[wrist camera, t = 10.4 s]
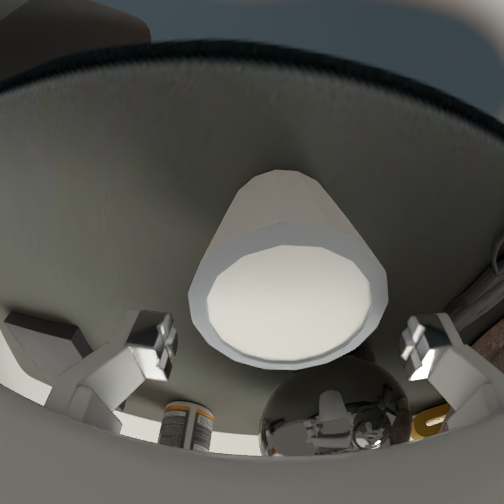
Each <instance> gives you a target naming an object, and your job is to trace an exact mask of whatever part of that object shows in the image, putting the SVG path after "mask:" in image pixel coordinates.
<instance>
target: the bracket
mask: <svg viewBox="0 0 504 504" xmlns="http://www.w3.org/2000/svg"><path fill="white" fill-rule="evenodd" d="M450 407H451V405H450V404H449V403H447V404H444V405H440V406H437V407H434V408H431V409H428V410H424V411H422V412H420V413H419V414H418V415H417V416H416V417H415V418H414V419H413V420H412V432H411V437H412V438H413V439H414V440H417V439H421V438H425V437H428V436H432V435H435V434H438V433H439V430H440V428H441V426H442V423H443V422H441V423H438V424H435V425H432V426H427V425H426V424H427V423H430V422H433V421H436V420H439V419H442V418H445V417H446V414H447V412H448V410H449V409H450Z"/></svg>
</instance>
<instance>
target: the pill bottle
mask: <svg viewBox="0 0 504 504" xmlns="http://www.w3.org/2000/svg"><path fill="white" fill-rule="evenodd" d="M212 424H213V414H212V413H211V412H210V411H209V410H208V409H207V408H205V407H203V406H201V405H198V404H195V403H190V402H184V401H175V402H171V403H169V404H167V406H166V407H165V411H164V415H163V420H162V425H161V429H160V434H159V438H158V442H157V444H162V445H167V446H172V447H178V448H184V449H190V450H197V451H204V452H209V447H210V440H211V433H212Z"/></svg>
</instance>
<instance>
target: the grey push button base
mask: <svg viewBox="0 0 504 504" xmlns="http://www.w3.org/2000/svg"><path fill="white" fill-rule="evenodd" d="M4 323H5V324H6V326H7V327H8V329H9V330H10V332H11V333H12V335H13V336H14V337H15V339H16V340H17V342H18V343H19V345H20V346H21V347H22V349H23V350H24V351H25V353H26V354H27V355H28V357H29V358H30V359H31V360H32V362H33V363H34V364H35V366H36V367H37V368H38V369H39V370H40V372H41V373H42V374H43V375H44V376H45V378H46V379H47V380H48V381H49V382H50V383H51V384H52V386H54V384H55V382H56V380H57V378H58V376H59V375H61V374H62V373H63V372H65V371H66V370H68V369H69V368H71V367H72V366H74V365H75V364H76V363H78V362H79V361H81V360H82V359H84V358H85V357H86V356H88V355H89V354H91V353H92V352H93V351H92V350H91V348H90V347H89V345H88V343H87V342H86V340H85V338H84V336H83V335H82V333H81V331H80V329H79V328H78V327H76V326H71V325H66V324H61V323H56V322H52V321H47V320H43V319H38V318H34V317H30V316H26V315H22V314H18V313H15V312H10V314H9V315H8V316H7V318H6V319H5V321H4ZM125 403H126V400H124V401H123V402H122V403H121V404H120V405H119V406H118V407H117V408H116V409H115V410H119V411H123V409H124V406H125Z"/></svg>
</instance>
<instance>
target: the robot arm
mask: <svg viewBox="0 0 504 504" xmlns="http://www.w3.org/2000/svg"><path fill="white" fill-rule="evenodd" d="M173 321H174V320H173V317H172V314H170V313H165V312H157V311H149V310H139V309H131V308H130V309H128V310H127V311H126V313H125V315H124V317H123V319H122V321H121V323H120V325H119V327H118V329H117V331H116V333H115V335H114V337H113V339H112V341H111V343H105V344H104V345H102V346H101V347H99V348H98V349H97V350H95V351H94V352H92V353H91V354H89V355H88V356H86V357H85V358H84V359H82V360H81V361H79V362H78V363H76V364H75V365H74V366H72V367H71V368H69V369H68V370H66V371H65V372H63V373H62V374H61V375H59V376H58V378H57V380H56V382H55V384H54V386H53V388H52V390H51V392H50V394H49V396H48V398H47V401H46V403H45V405H44V406H42V405H40V404H38V403H36V402H34V401H32V400H30V399H28V398H25V397H24V396H22V395H20V394H18V393H16V392H14V391H12V390H10V389H9V388H7V387H5V386H3V385H2V384H0V504H504V374H503V373H502V372H501V371H500V370H499V369H497V368H496V367H495V366H494V365H492V364H491V363H490V362H489V361H487V360H486V359H485V358H484V357H482V356H481V355H480V354H479V353H477V352H476V351H475V350H473V349H472V348H471V347H470V346H468V345H467V344H465V345H464V344H463V342H462V340H461V338H460V336H459V334H458V332H457V330H456V328H455V327H454V325H453V323H452V321H451V319H450V317H449V315H448V314H446V313H436V314H424V315H412V316H411V317H410V318H409V319H408V321H407V323H406V324H407V326H408V328H406V329H405V330H404V331H403V332H402V333H401V336H400V338H399V345H398V346H399V352H400V356H401V357H402V358H403V359H404V360H405V361H406V363H405V365H404V368H405V371H406V374H407V377H408V380H409V381H414V380H421V379H427V378H428V379H427V380H428V381H429V382H430V383H431V384H432V385H433V386H434V387H435V388H436V390H437V391H438V392H439V393H440V394H441V395H442V396H443V397H444V399H445V400H446V401H447V402H448V403H449V404H450V405H451V406H452V408H453V409H454V410H455V411H456V412H454V413H453V414H452V415H451V416H450V417H449V418H448V420H447V425H448V429H449V430H448V431H445V432H442V433H439V434H435V435H432V436H428V437H425V438H421V439H417V440H413V441H409V442H405V443H400V444H395V445H391V446H385V447H380V448H374V449H368V450H362V451H354V452H346V453H337V454H326V455H311V456H247V455H232V454H222V453H212V452H204V451H197V450H190V449H184V448H178V447H172V446H167V445H162V444H157V443H153V442H148V441H144V440H140V439H136V438H132V437H128V436H124V435H121V434H120V430H121V427H122V423H121V422H120V420H119V419H118V418H117V417H116V416H115V415H114V414H113V413H112V412H113V411H114V410H115V409H116V408H117V407H118V406H119V405H120V404H121V403H122V402H123V401H124V400H125V399H126V398H127V397H128V396H129V395H130V394H131V393H132V392H133V391H134V390H135V389H136V388H137V387H138V386H139V385H140V384H141V383H143V382H144V381H145V378H146V379H152V380H160V381H168V380H169V376H170V373H171V369H172V363H171V361H170V360H171V359H172V358H173V357H174V356H175V355H176V352H177V347H178V335H177V331H176V329H175V328H174V327H172V324H173Z"/></svg>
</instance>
